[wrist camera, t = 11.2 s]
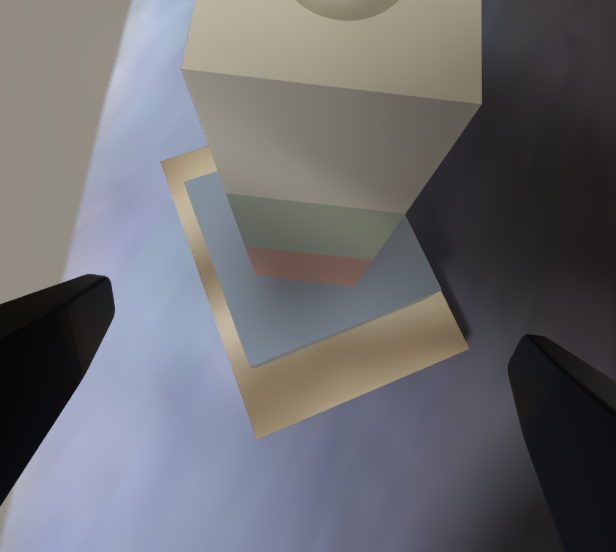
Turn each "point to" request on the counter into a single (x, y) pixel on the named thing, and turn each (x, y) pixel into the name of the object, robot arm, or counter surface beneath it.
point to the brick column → (329, 119)
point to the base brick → (303, 284)
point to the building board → (321, 356)
